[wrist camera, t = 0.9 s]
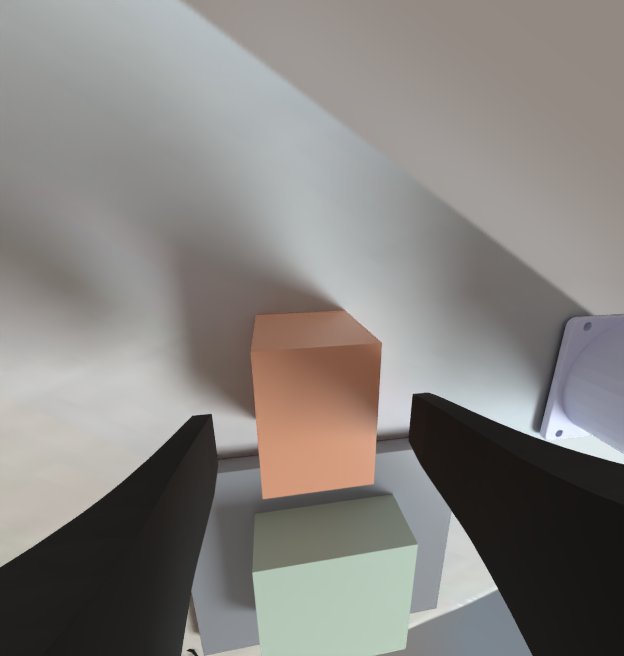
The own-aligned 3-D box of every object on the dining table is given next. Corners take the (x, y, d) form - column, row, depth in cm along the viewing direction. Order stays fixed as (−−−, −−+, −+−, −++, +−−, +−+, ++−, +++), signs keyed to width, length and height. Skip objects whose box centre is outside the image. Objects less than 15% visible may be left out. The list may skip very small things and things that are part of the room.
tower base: (451, 432, 18) (501, 484, 14) (428, 592, 22) (462, 666, 18) (175, 465, 16) (146, 536, 12) (206, 635, 20) (192, 730, 16)
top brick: (344, 309, 15) (381, 342, 10) (342, 413, 16) (373, 483, 12) (255, 314, 14) (250, 351, 9) (263, 421, 16) (262, 499, 11)
